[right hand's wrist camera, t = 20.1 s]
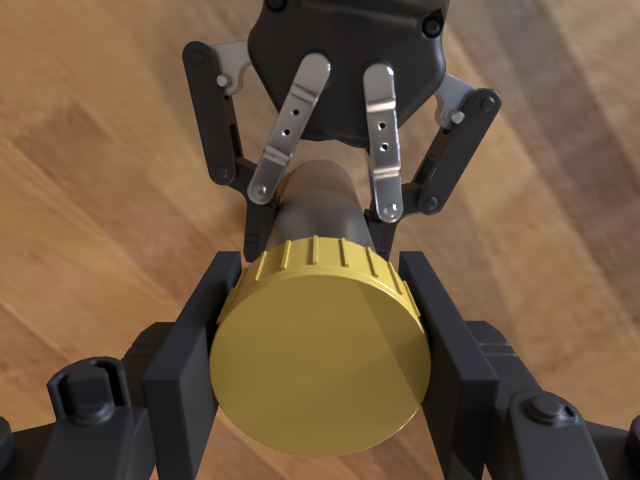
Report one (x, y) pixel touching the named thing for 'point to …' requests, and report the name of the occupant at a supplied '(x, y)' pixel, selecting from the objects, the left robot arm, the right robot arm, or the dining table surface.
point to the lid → (320, 349)
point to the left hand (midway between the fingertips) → (313, 274)
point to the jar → (319, 207)
